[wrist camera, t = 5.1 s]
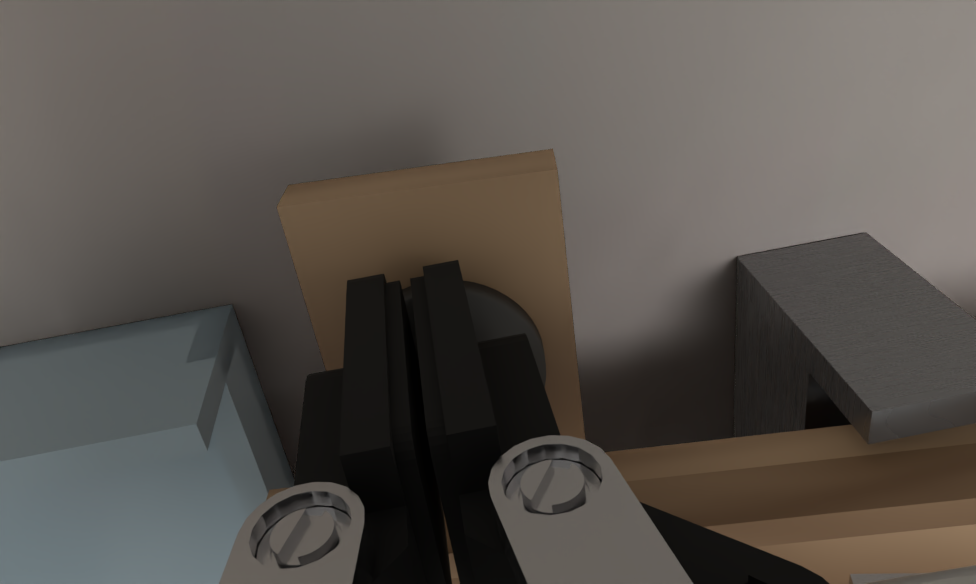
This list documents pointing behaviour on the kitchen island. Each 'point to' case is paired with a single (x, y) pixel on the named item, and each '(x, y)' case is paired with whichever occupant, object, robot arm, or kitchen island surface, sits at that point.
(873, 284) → the grey arch block
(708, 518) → the lever
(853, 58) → the kitchen island surface
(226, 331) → the dish
